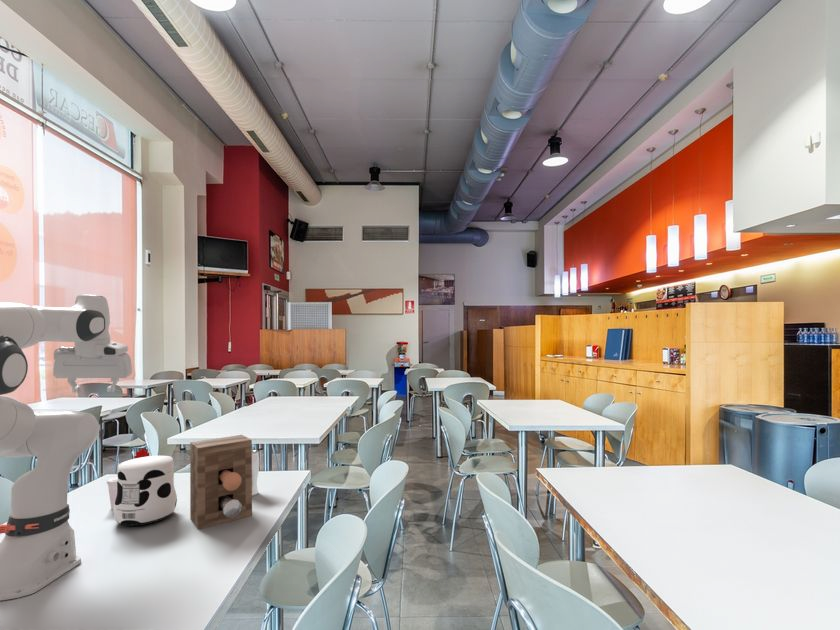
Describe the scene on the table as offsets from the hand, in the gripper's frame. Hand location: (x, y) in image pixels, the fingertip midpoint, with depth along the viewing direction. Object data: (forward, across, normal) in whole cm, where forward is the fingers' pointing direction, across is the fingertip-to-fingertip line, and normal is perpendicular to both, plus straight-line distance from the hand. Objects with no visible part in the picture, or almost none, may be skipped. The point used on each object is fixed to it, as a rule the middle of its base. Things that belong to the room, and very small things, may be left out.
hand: (93, 392), depth 142 cm
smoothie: (+44, +2, +11) cm, 45 cm away
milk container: (+41, +15, -2) cm, 44 cm away
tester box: (+39, +38, -7) cm, 55 cm away
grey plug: (+35, +41, -13) cm, 56 cm away
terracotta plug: (+27, +41, -12) cm, 50 cm away
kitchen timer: (+47, +2, +30) cm, 55 cm away
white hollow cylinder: (+42, +44, +13) cm, 62 cm away
